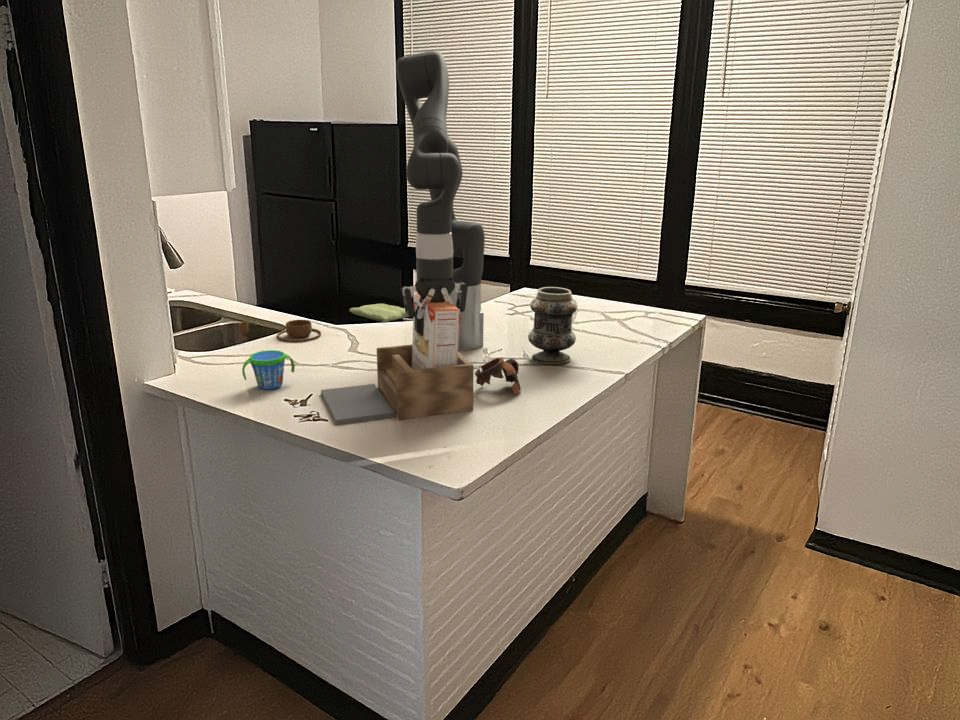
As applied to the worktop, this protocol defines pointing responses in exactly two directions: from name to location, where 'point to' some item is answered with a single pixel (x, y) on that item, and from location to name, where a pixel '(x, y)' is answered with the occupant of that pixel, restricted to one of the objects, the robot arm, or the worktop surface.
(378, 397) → the mat
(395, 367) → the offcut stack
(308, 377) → the worktop surface
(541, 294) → the apothecary jar
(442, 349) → the cracker box
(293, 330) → the place setting
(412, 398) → the wooden box
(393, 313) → the washcloth
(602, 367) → the worktop surface
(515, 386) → the brown jagged arch
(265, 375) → the snack cup
